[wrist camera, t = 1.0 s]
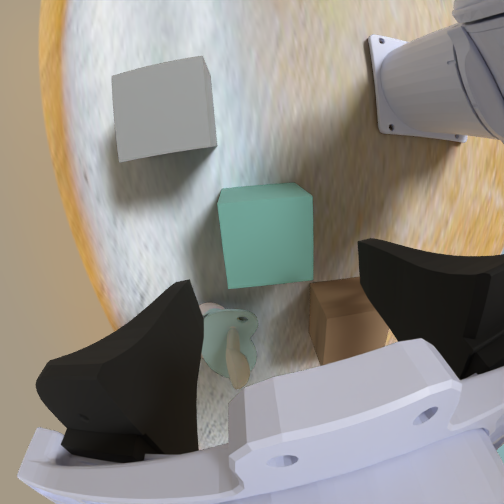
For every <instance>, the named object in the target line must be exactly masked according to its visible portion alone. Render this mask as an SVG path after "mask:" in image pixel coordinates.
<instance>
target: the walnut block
mask: <svg viewBox="0 0 504 504" xmlns="http://www.w3.org/2000/svg"><path fill="white" fill-rule="evenodd" d="M388 330H389V327H388V326H387V324H386V323H385V322H384V320H383V319H382V317H381V316H380V315H379V313H378V312H377V311H376V309H375V308H374V307H373V305H372V304H371V302H370V301H369V299H368V298H367V296H366V294H365V292H364V290H363V288H362V286H361V284H360V277H354V278H346V279H339V280H331V281H323V282H315V283H310V314H309V334H310V336H311V339H312V342H313V345H314V348H315V351H316V354H317V357H318V359H319V362H320V365H325V364H329V363H333V362H336V361H340V360H343V359H347V358H350V357H353V356H357V355H360V354H363V353H366V352H369V351H372V350H375V349H378V348H381V347H384V346H385V342H386V338H387V334H388Z"/></svg>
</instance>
